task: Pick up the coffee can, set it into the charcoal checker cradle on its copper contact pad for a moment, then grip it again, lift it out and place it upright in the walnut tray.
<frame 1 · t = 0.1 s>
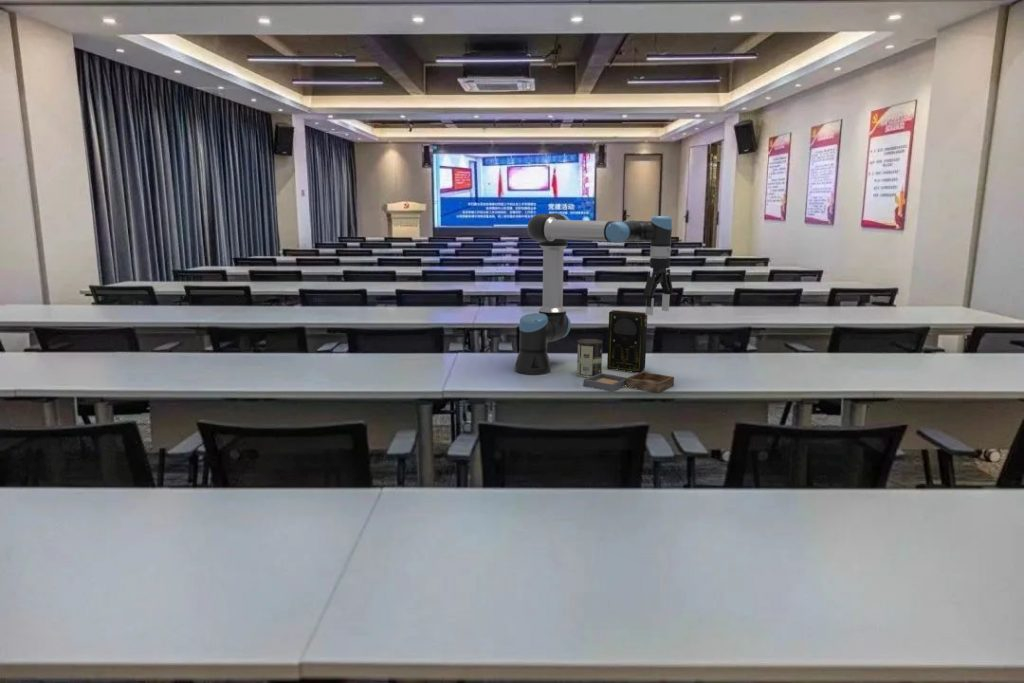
hand: (657, 313, 264), 28 cm above the table, tool pointing down, fingers open, 13 cm apart
walnut tray: (649, 386, 265), on the table
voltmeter: (626, 370, 291), on the table
coffee can: (589, 375, 282), on the table
checker cradle: (606, 385, 266), on the table
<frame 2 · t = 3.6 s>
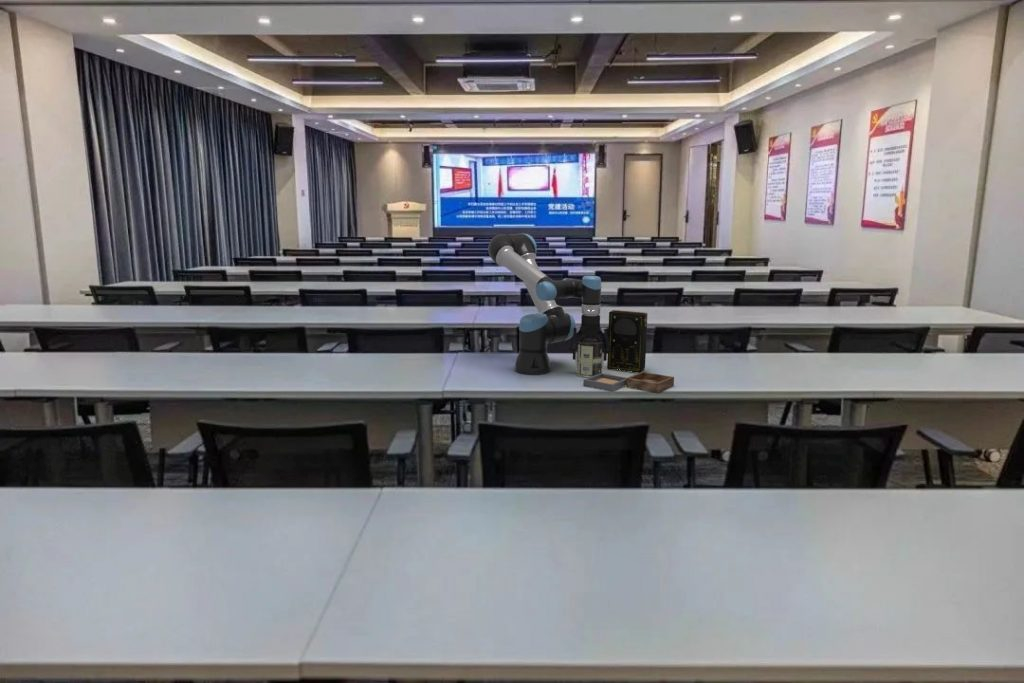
hand: (589, 367, 282), 3 cm above the table, tool pointing down, fingers closed on coffee can, 10 cm apart
coffee can: (589, 374, 282), on the table, touching gripper
everything else where it was.
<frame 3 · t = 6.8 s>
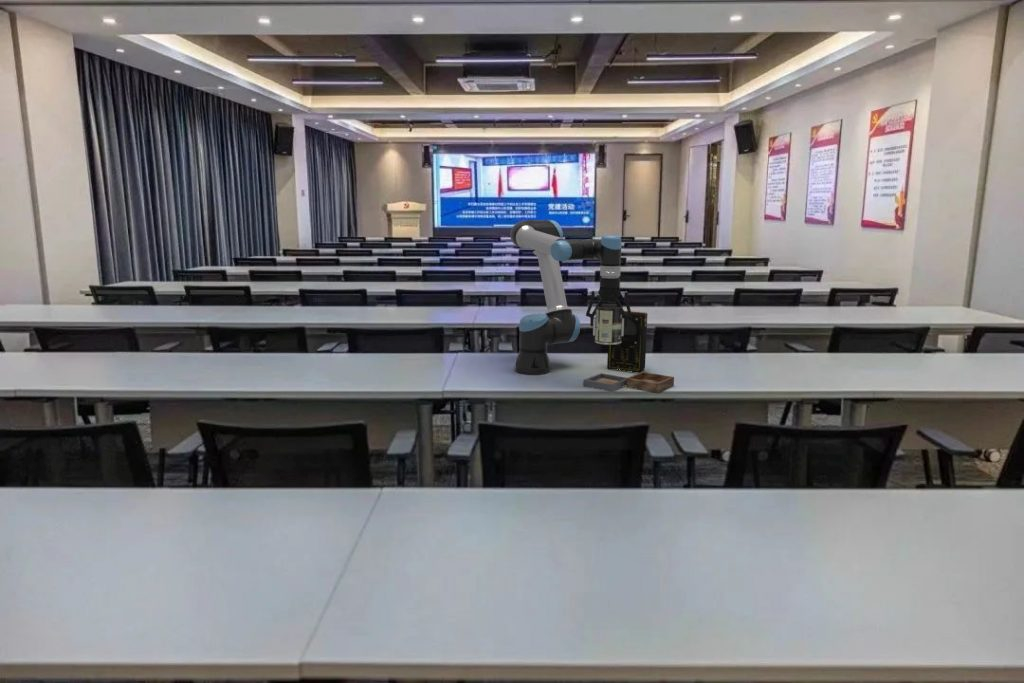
hand: (608, 335, 262), 20 cm above the table, tool pointing down, fingers closed on coffee can, 10 cm apart
coffee can: (607, 342, 263), point 17 cm above the table, touching gripper
everything else where it was.
when the fingers open (5 cm above the table, at t = 10.0 s): coffee can drops 1 cm, resting on checker cradle.
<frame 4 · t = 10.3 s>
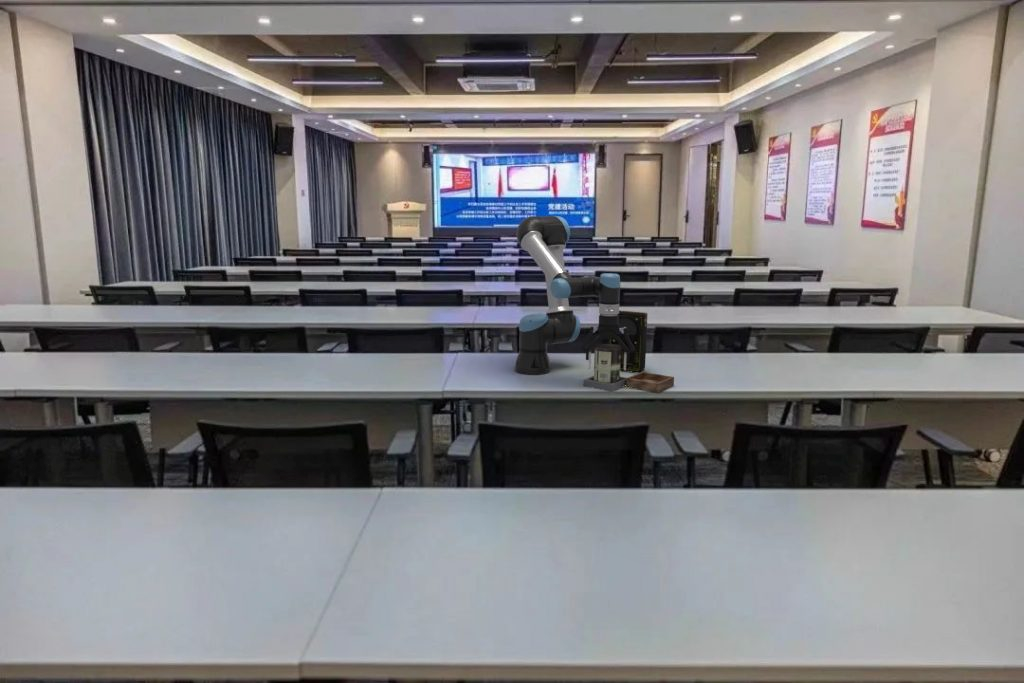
hand: (607, 368, 265), 6 cm above the table, tool pointing down, fingers open, 13 cm apart
coffee can: (606, 382, 266), point 1 cm above the table, touching checker cradle
everything else where it was.
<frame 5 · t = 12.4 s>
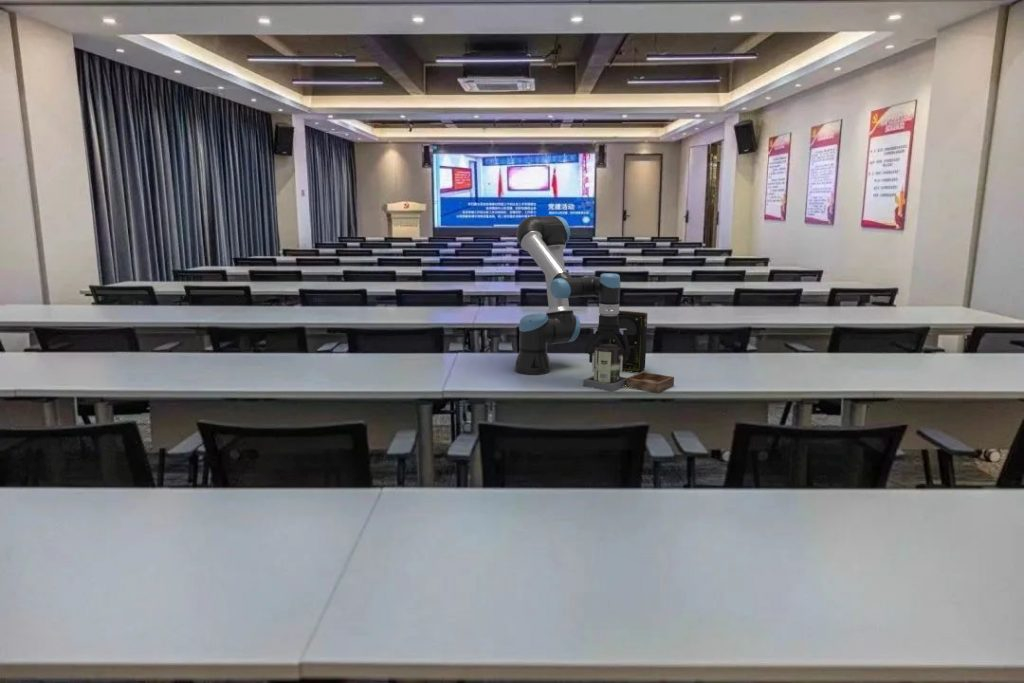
hand: (606, 371, 265), 6 cm above the table, tool pointing down, fingers closed on coffee can, 10 cm apart
coffee can: (606, 382, 266), point 1 cm above the table, touching checker cradle, gripper
everything else where it was.
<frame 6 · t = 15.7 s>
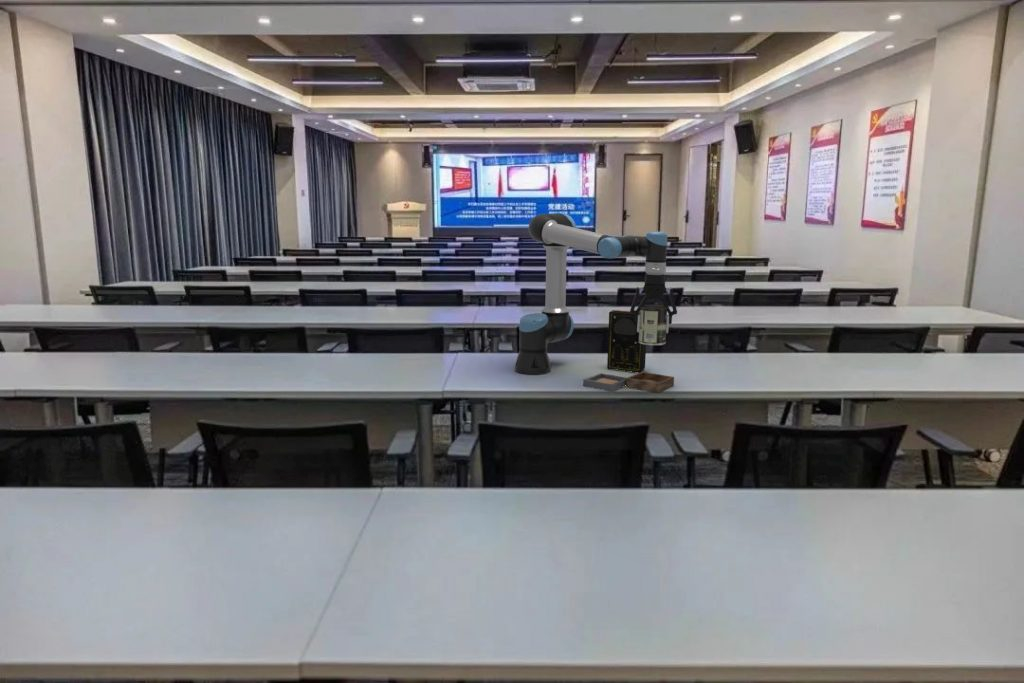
hand: (652, 332, 260), 21 cm above the table, tool pointing down, fingers closed on coffee can, 10 cm apart
coffee can: (651, 343, 261), point 17 cm above the table, touching gripper
everything else where it was.
when the fingers open (7 cm above the table, at t = 18.9 s): coffee can drops 1 cm, resting on walnut tray.
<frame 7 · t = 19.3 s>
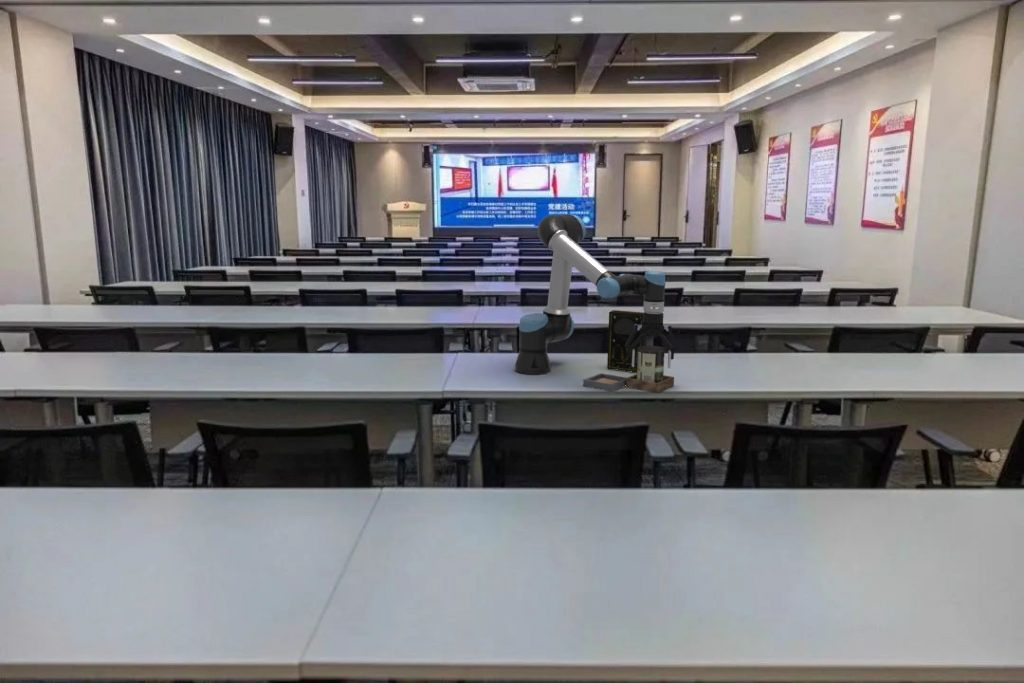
hand: (650, 366, 263), 8 cm above the table, tool pointing down, fingers open, 13 cm apart
coffee can: (649, 384, 265), point 1 cm above the table, touching walnut tray
everything else where it was.
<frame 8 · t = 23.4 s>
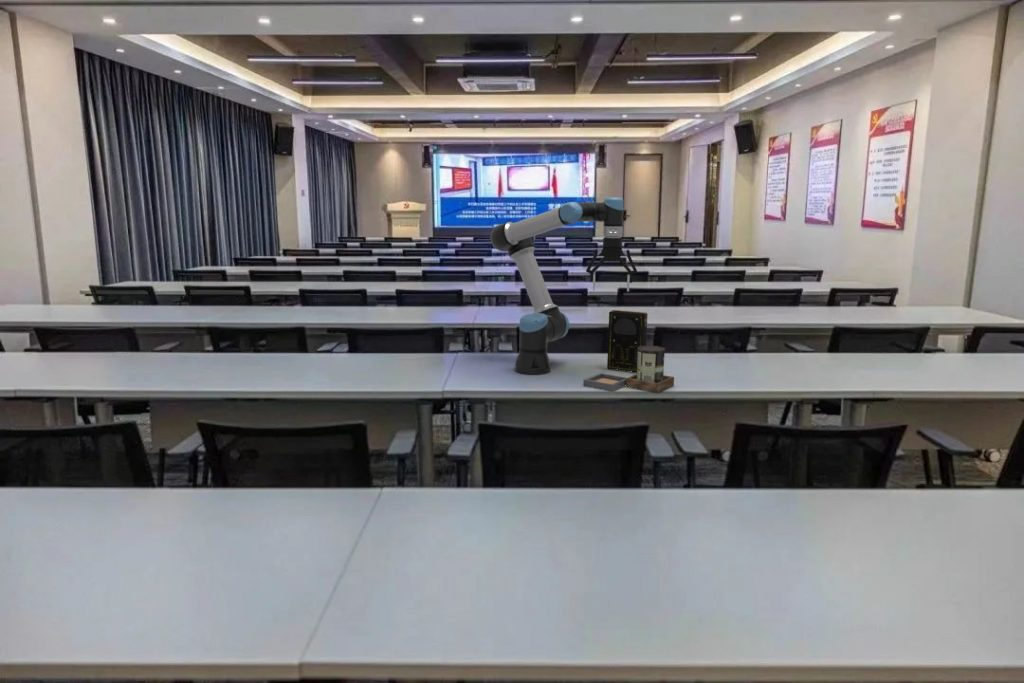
hand: (610, 290, 276), 35 cm above the table, tool pointing down, fingers open, 13 cm apart
nothing on the table moved.
at the end: coffee can inside the target area on the walnut tray (0.2 cm from its centre), point 0.8 cm above the walnut tray's base; coffee can tilted 0°; the gripper is holding nothing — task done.
